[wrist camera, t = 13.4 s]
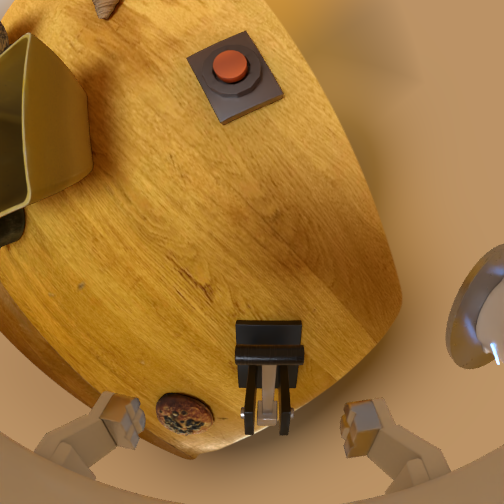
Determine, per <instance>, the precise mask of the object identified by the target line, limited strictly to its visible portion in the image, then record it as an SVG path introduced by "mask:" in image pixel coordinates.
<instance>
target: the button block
mask: <svg viewBox="0 0 504 504" xmlns="http://www.w3.org/2000/svg"><path fill="white" fill-rule="evenodd" d="M228 50H234V51H238V52H240V53H241V54H243V55H244V57H245V58H246V61H247V66H248V71H247V74H246V75H245V77H244V78H243V79H241V80H240V81H238V82H235V83H226V82H223V81H222V80H220V79H219V78H218V77H217V75H216V73H215V71H214V69H213V62H214V60H215V58H216V57H217V56H218V55H219V54H220V53H222V52H224V51H228ZM186 59H187V60H188V62H189V64H190V66H191V68H192V70H193V72H194V73H195V75H196V77H197V79H198V81H199V83H200V85H201V87H202V89H203V90H204V92H205V94H206V96H207V98H208V100H209V102H210V104H211V106H212V108H213V110H214V112H215V113H216V115H217V117H218V119H219V121H220V123H221V124H222V125H225V124H227V123H229V122H231V121H233V120H235V119H237V118H239V117H241V116H244V115H246V114H248V113H250V112H252V111H254V110H257V109H259V108H261V107H263V106H266V105H268V104H270V103H273V102H275V101H278V100H280V99H282V98H283V92H282V90H281V88H280V87H279V85H278V83H277V81H276V79H275V78H274V76H273V74H272V73H271V71H270V69H269V67H268V66H267V64H266V62H265V61H264V59H263V57H262V56H261V54H260V52H259V51H258V49H257V48H256V46H255V44H254V43H253V41H252V40H251V38H250V36H249V35H248V33H247V32H246V31H244V32H241V33H239V34H236V35H234V36H232V37H229V38H227V39H225V40H222V41H220V42H218V43H216V44H214V45H211V46H209V47H207V48H205V49H203V50H201V51H199V52H197V53H195V54H193V55H191V56H189V57H187V58H186Z"/></svg>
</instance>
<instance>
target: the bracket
mask: <svg viewBox="0 0 504 504" xmlns="http://www.w3.org/2000/svg"><path fill="white" fill-rule="evenodd" d="M301 330H302V323H301V321H241V320H237V321H236V345H237V344H243V345H300V342H301ZM297 374H298V365H277V367H276V379H275V388H278V390H279V433H280V435H288V432H289V424H290V419H293V417H294V409H293V408H291V406H290V392H289V388H296V383H297ZM238 383H239V388H246V397H245V406H244V407H242V408H241V418H242V419H244V425H245V435H253V434H254V421H255V406H256V391H257V388H262V365H238Z"/></svg>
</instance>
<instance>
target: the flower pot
mask: <svg viewBox="0 0 504 504" xmlns="http://www.w3.org/2000/svg"><path fill="white" fill-rule="evenodd" d="M92 169H93V159H92V152H91V144H90V134H89V122H88V108H87V95H86V93H85V91H84V90H83V88H82V86H81V85H80V84H79V82H78V81H77V79H76V78H75V76H74V75H73V74H72V72H71V71H70V70H69V68H68V67H67V66H66V65H65V64H64V63H63V61H62V60H61V59H60V58H59V57H58V56H57V55H56V54H55V53H54V52H53V51H52V50H51V49H50V48H49V47H48V46H46V45H45V44H44V43H43V42H42V41H41V40H39V39H38V38H37V37H35V36H34V35H32V34H31V33H26V34H25V35H23V36H22V37H21V38H20V39H18V40H17V41H16V42H15V43H14V44H12V45H11V46H10V47H9V48H8V49H7V50H5V51H4V52H3V53H2V54H1V55H0V218H1V217H3V216H5V215H7V214H9V213H12V212H14V211H16V210H18V209H21V208H23V207H25V206H28V205H30V204H33V203H35V202H38V201H40V200H42V199H45V198H47V197H49V196H51V195H54V194H56V193H58V192H60V191H62V190H64V189H66V188H68V187H70V186H72V185H73V184H75V183H77V182H78V181H80V180H81V179H83V178H84V177H86V176H87V175H88V174H89V173H90V172H91V171H92Z"/></svg>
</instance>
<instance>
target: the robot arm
mask: <svg viewBox="0 0 504 504" xmlns="http://www.w3.org/2000/svg"><path fill="white" fill-rule="evenodd" d="M476 336H477V339H478V340H479V341H480V342H481V343H482V348H483V351H484V352H485V353H486V354H487V353H490V352H491V353H492V354H493V355H494V356H495V359H496V362H497V364H499V360H498V359H500V360H501V361H502V362H503V363H504V278H503V279H502V281H501V282H500V283H499V284H498V285H497V286H496V287H495V288H494V289H493V290H492V291H491V293H490V294H489V296H488V297H487V299H486V300H485V302H484V304H483V306H482V308H481V311H480V313H479V316H478V319H477V324H476ZM139 406H140V401H139V399H138V398H136V397H131V396H126V395H122V394H118V393H113V392H108V391H105V392H103V393H102V395H101V396H100V398H99V399H98V401H97V402H96V404H95V405H94V407H93V408H92V410H91V412H90V413H89V415H83V416H82V417H79V418H77V419H75V420H73V421H71V422H69V423H67V424H65V425H63V426H61V427H59V428H57V429H55V430H53V431H50V432H48V433H46V434H45V436H44V437H43V439H42V440H41V442H40V443H39V445H38V446H37V448H36V449H35V451H34V452H33V451H31V450H29V449H27V448H25V447H24V446H22V445H20V444H19V443H17V442H16V441H14V440H12V439H11V438H9V437H8V436H6V435H5V434H3V433H1V432H0V504H183V503H177V502H171V501H166V500H162V499H157V498H153V497H148V496H144V495H140V494H137V493H133V492H129V491H126V490H123V489H119V488H116V487H113V486H110V485H107V484H104V483H101V482H99V481H96V480H95V479H96V477H95V475H94V474H93V472H92V471H91V470H90V469H89V467H90V466H92V465H93V464H95V463H96V462H97V461H99V460H100V459H101V458H102V457H104V456H105V455H107V454H108V453H109V452H111V451H112V450H114V449H115V448H116V447H117V446H120V447H124V448H129V449H133V450H135V448H136V446H137V443H138V441H139V439H140V438H139V436H138V434H139V433H140V432H142V431H143V429H144V427H145V420H146V419H145V414H144V411H143V410H142V409H141V408H139ZM344 412H345V414H344V415H343V416H342V417H341V421H340V431H341V436H342V438H343V439H344V440H346V441H345V444H344V449H345V453H346V457H347V458H351V457H359V456H365V455H367V456H368V458H370V459H371V460H372V461H373V462H374V463H375V464H376V465H377V466H378V467H380V468H381V469H382V470H383V471H384V472H385V473H386V474H387V475H389V476H390V477H391V478H392V479H393V480H394V481H393V482H392V483H391V485H390V486H389V488H388V489H387V490H386V491H385V494H386V495H382V496H378V497H374V498H369V499H365V500H360V501H355V502H350V503H344V504H504V445H502V446H500V447H499V448H497V449H495V450H494V451H492V452H490V453H488V454H486V455H485V456H483V457H481V458H479V459H477V460H475V461H473V462H471V463H469V464H467V465H465V466H463V467H461V468H458V469H456V470H454V471H452V472H451V470H450V468H449V466H448V464H447V462H446V460H445V458H444V456H443V453H442V452H441V449H439V448H437V447H435V446H433V445H432V444H430V443H428V442H427V441H425V440H423V439H422V438H420V437H418V436H417V435H415V434H413V433H412V432H410V431H408V430H407V429H405V428H403V427H402V426H400V425H396V424H395V422H394V420H393V418H392V415H391V413H390V411H389V409H388V406H387V405H386V402H385V400H384V398H376V399H370V400H362V401H356V402H349V403H346V404H345V407H344Z"/></svg>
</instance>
